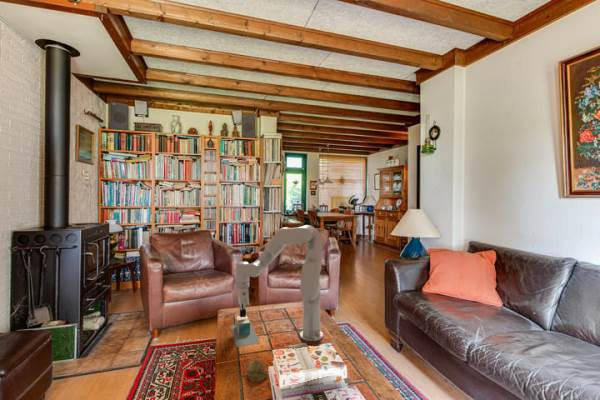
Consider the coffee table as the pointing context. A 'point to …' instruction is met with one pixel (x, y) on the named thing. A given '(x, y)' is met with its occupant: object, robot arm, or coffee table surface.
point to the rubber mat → (244, 337)
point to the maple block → (243, 325)
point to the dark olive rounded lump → (256, 371)
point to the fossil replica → (298, 345)
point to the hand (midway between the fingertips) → (242, 316)
